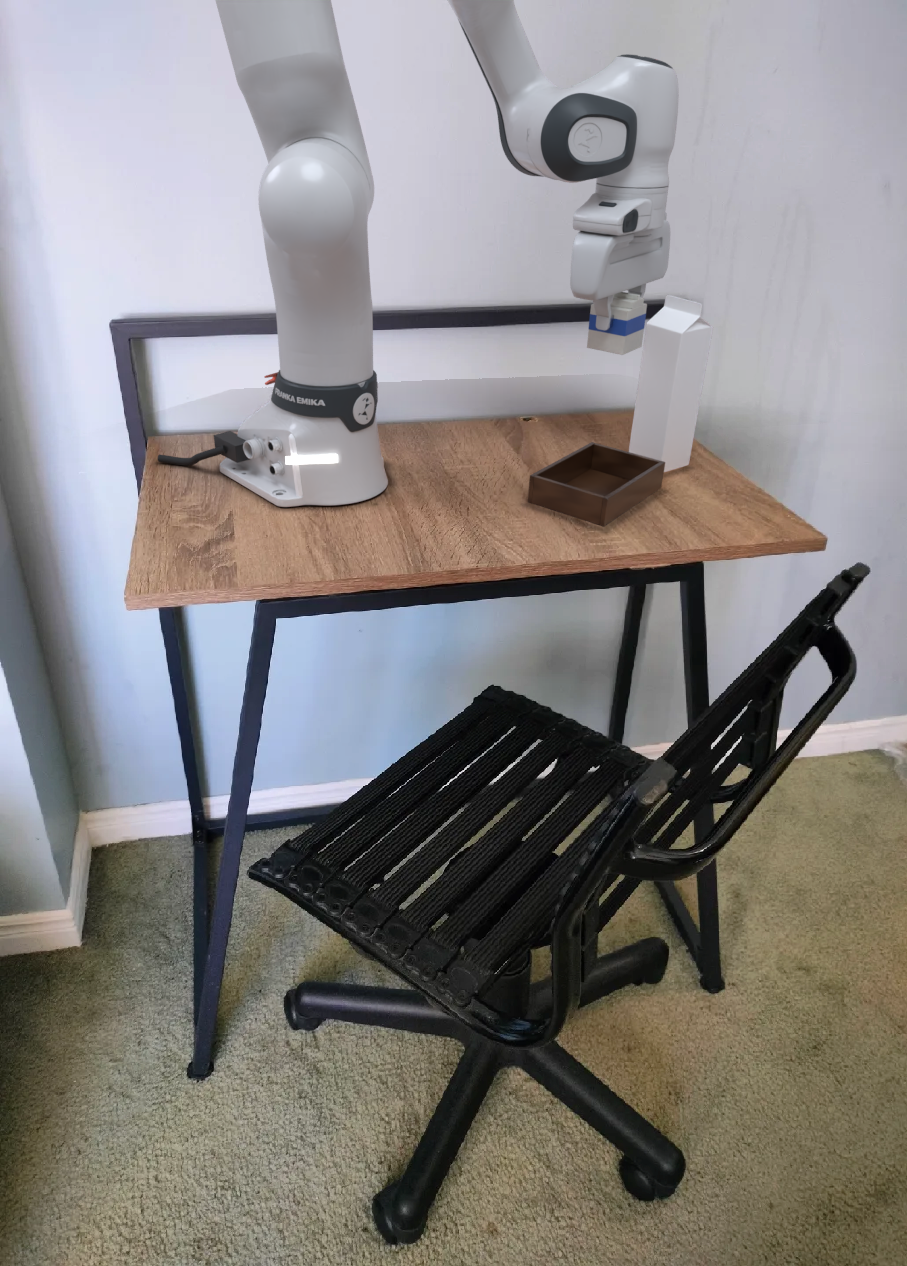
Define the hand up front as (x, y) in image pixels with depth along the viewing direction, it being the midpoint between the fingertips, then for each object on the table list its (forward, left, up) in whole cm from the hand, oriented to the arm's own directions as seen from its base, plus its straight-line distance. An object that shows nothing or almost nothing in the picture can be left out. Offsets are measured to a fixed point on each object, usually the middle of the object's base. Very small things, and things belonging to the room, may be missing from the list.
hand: (616, 324), depth 121 cm
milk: (+9, 0, -18) cm, 20 cm away
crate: (+8, -16, -17) cm, 25 cm away
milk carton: (0, 0, -3) cm, 3 cm away
